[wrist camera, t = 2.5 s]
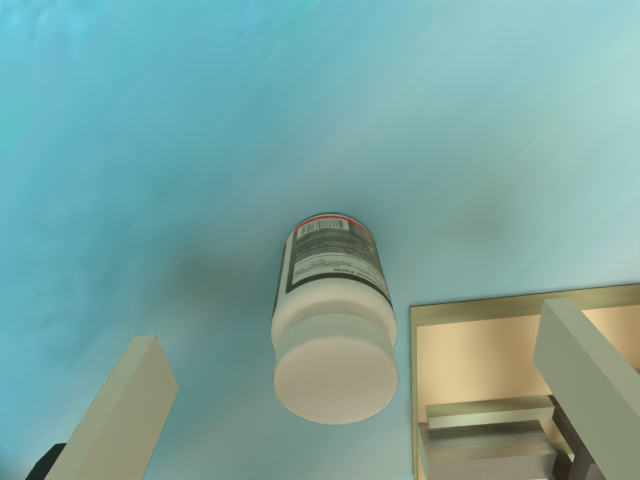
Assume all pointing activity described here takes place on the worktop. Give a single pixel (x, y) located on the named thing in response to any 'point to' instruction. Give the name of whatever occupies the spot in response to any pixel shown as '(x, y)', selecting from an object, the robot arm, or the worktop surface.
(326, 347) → the pill bottle
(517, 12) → the worktop surface
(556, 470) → the mount
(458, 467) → the pin
